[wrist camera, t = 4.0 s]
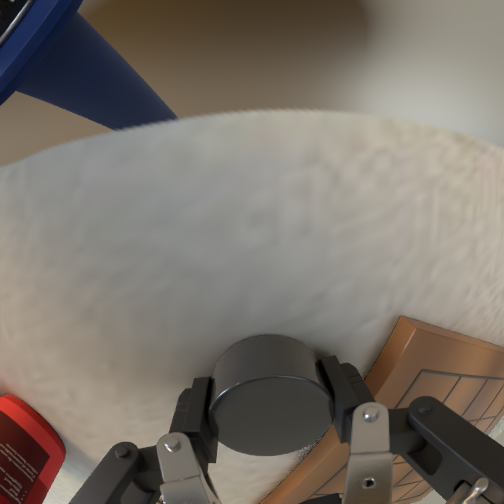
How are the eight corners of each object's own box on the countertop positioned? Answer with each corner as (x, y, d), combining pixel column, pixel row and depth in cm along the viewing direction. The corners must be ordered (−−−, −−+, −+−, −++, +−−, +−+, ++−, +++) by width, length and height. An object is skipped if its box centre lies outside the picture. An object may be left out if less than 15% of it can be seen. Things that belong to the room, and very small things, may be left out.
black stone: (202, 400, 12) (194, 443, 9) (233, 319, 11) (230, 359, 8) (292, 420, 13) (301, 461, 10) (336, 348, 12) (358, 387, 9)
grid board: (254, 506, 15) (255, 520, 14) (400, 314, 12) (417, 328, 10) (415, 492, 17) (419, 501, 16) (528, 354, 13) (537, 361, 12)
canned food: (21, 438, 14) (-22, 504, 3) (-11, 378, 12) (-76, 446, 2) (80, 468, 14) (43, 552, 4) (48, 410, 13) (-18, 510, 2)
